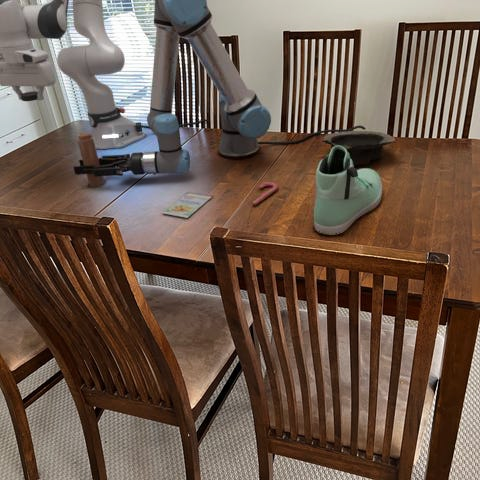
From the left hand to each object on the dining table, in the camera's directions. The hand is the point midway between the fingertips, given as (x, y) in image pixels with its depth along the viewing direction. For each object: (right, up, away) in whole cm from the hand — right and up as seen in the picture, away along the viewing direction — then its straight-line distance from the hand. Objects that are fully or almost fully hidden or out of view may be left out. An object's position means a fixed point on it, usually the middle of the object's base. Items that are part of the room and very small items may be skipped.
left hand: (31, 99), depth 156 cm
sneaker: (+99, -37, -17) cm, 107 cm away
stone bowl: (+109, -16, +15) cm, 112 cm away
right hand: (+12, -21, +8) cm, 25 cm away
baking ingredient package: (+52, -35, -8) cm, 63 cm away
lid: (0, +1, -1) cm, 2 cm away
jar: (+18, -26, +11) cm, 33 cm away
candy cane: (+75, -32, -6) cm, 82 cm away
